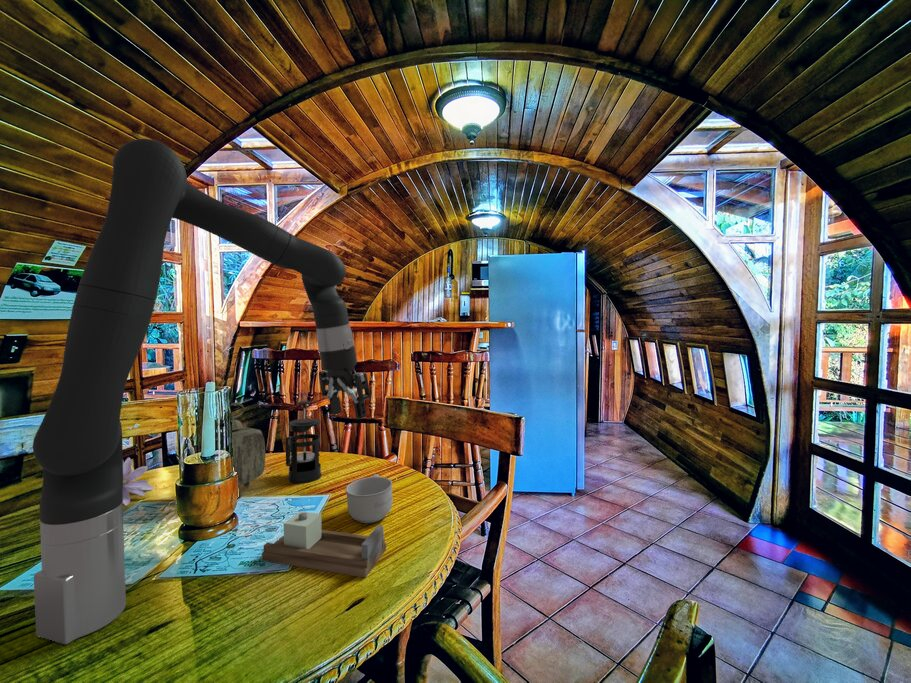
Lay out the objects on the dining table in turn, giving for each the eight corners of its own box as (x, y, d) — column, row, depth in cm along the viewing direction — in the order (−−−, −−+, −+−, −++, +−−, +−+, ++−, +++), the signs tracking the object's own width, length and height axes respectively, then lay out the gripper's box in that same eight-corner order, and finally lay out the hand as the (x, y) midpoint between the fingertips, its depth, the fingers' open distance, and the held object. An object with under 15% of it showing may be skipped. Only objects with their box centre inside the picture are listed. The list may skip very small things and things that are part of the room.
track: (365, 577, 71) (365, 548, 71) (262, 560, 76) (261, 532, 76) (385, 550, 80) (385, 523, 80) (291, 536, 85) (291, 511, 85)
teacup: (382, 531, 87) (382, 495, 87) (337, 525, 89) (337, 491, 89) (402, 503, 101) (402, 472, 101) (363, 499, 103) (363, 469, 103)
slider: (306, 551, 76) (306, 522, 76) (283, 548, 77) (283, 519, 77) (321, 537, 81) (321, 510, 81) (300, 534, 82) (300, 507, 82)
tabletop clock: (248, 483, 113) (247, 397, 112) (269, 489, 109) (268, 400, 108) (195, 503, 100) (193, 406, 99) (216, 511, 96) (214, 410, 95)
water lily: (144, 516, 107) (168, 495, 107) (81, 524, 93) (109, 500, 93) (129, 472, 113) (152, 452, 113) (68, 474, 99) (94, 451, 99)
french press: (329, 474, 120) (329, 399, 119) (309, 485, 111) (308, 405, 110) (298, 469, 124) (297, 397, 123) (276, 480, 115) (275, 403, 114)
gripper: (302, 349, 87) (316, 418, 90) (343, 350, 79) (357, 425, 82) (330, 342, 93) (342, 407, 96) (371, 342, 85) (382, 413, 88)
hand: (349, 415), depth 89 cm, fingers open, 8 cm apart
